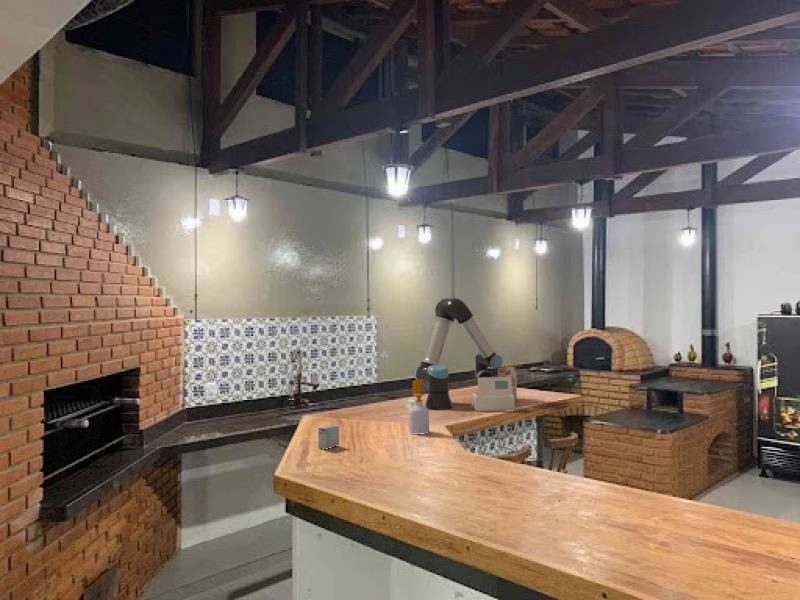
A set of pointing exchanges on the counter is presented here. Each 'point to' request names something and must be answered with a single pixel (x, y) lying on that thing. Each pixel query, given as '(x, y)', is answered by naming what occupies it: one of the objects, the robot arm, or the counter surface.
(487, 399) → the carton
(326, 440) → the medicine box
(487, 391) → the front flap
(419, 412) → the soap bottle
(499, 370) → the cracker box
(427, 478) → the counter surface
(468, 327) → the robot arm
